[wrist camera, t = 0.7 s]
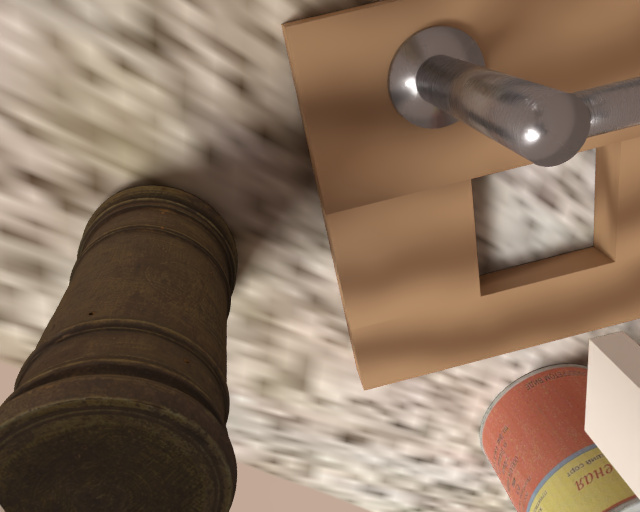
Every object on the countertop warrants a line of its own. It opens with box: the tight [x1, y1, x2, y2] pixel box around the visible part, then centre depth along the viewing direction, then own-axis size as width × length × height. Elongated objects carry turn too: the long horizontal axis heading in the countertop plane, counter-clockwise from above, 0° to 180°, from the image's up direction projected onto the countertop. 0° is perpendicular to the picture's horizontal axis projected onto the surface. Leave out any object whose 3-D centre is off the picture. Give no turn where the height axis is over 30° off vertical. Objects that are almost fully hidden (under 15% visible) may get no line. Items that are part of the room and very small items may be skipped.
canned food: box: [480, 364, 640, 512], centre depth 39 cm, size 11×11×12 cm
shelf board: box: [281, 0, 640, 390], centre depth 33 cm, size 23×22×2 cm
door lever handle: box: [387, 26, 640, 167], centre depth 23 cm, size 5×9×12 cm, turn 102°
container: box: [0, 185, 238, 512], centre depth 25 cm, size 9×9×18 cm
